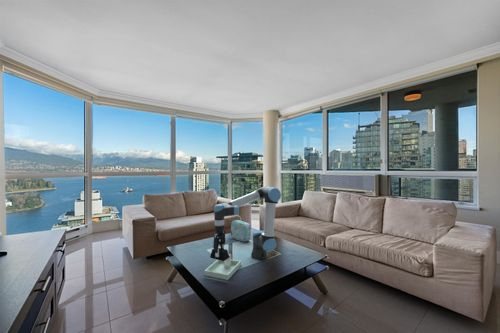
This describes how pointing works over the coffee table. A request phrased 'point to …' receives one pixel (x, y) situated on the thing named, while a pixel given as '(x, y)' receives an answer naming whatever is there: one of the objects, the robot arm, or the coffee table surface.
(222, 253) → the sculpture
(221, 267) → the tote
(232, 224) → the lunch box
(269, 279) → the coffee table surface
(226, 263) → the jar
